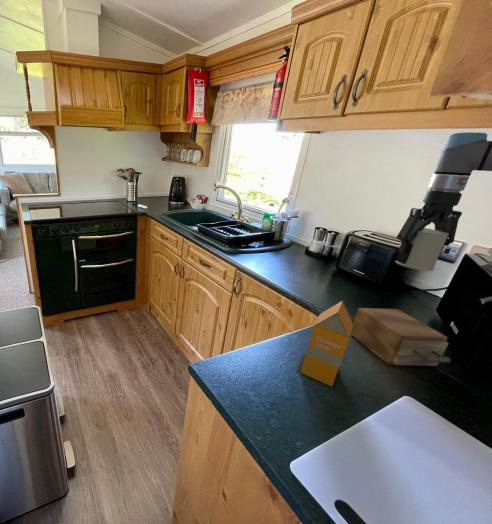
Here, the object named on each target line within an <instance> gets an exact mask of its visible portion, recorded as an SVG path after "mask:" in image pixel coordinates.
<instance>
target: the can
mask: <svg viewBox="0 0 492 524" xmlns="http://www.w3.org/2000/svg"><path fill="white" fill-rule="evenodd" d="M448 235H449V234H448V233H446V232H442V231H439V230H436V231H435V229H432V228H427V227H425V228H424V229H423V230H422V231H418V234H417V237H416V238H415V239H414V240H413V241H412V242H411V243H412V244H413V247H412V249H411V252H410V254H409V257H408V259H407V262H406V264H403V263H400V262H398V261H396V260H395V263H396V264H398V265H400V266H402V267H405V268H409V269H412V270H417V271H423V272H424V271H426V272H427V271H428V272H433V271H434V270H435V266H436V263H437V261H438V259H439V256H440V255H441V254H440V252H441V250H442V247H443V245H444V243H445V241H446V239H447V237H448ZM408 239H409V238H408ZM442 251H443V250H442ZM441 253H442V252H441ZM439 254H440V255H439Z"/></svg>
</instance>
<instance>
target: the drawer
mask: <svg viewBox="0 0 492 524" xmlns="http://www.w3.org/2000/svg"><path fill="white" fill-rule="evenodd" d="M448 345H449V342H448V341H447V340H446V341H445V340H431V339H402V341H401V343H400V346H399V348H398V350H397V353H396V355H395V357H394V359H393V362H392V363H394V364H395V365H394V366H417V367H419V366H423V367H425V366H426V367H427V366H428V367H438V365H439V364H441V363H443V364H448V363H451V358H449V357H448V356H443V355H444V353H445V352H446V350H447V348H448Z"/></svg>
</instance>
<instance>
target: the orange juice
mask: <svg viewBox="0 0 492 524" xmlns="http://www.w3.org/2000/svg"><path fill="white" fill-rule="evenodd" d="M352 329H353V322H352V320H351V317H350V314H349V312H348V310H347V308H346V306H345V304H344V302H343V300H341V301H339V302H338V303H336V304H334V305H333V306H331V307H329V308H328V309H326V310H324V311H322V312H320V313H319V315H318V317H317V319H316V321H315V322H314V324H313V327H312V332H311V333H310V338H309V342H308V345H307V347H306V351H305V354H304V359H303V361H302V365H301V368H300V371H299V373H300V374H303V375H305V376H307V377H310V378H312V379H314V380H316V381H318V382H320V383H322V384H325V385H327V386H329V387H332V388H333V385H334V382H335V379H336V377H337V374H338V371H339V369H340V366H341V363H342V361H343V357H344V354H345V352H346V351H347V346H348V344H349V342H350V339H351V336H352V335H351V332H352Z"/></svg>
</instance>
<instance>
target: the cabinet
mask: <svg viewBox="0 0 492 524" xmlns="http://www.w3.org/2000/svg"><path fill="white" fill-rule="evenodd" d="M352 323H353V329H352V332H351V336H352V337H353V338H355V339H356V340H357V341H358V342H360V343H361V344H362V345H363V346H365V347H366V348H367V349H368V350H370V352H372V353H374V354H375V355H376V356H377V357H378V358H379V359H381V360H382V361H383V362H385V364H387V365H389V366H396V365H395V364H394V363H392V362H393V359H394V357H395V355H396V353H397V350H398V348H399V346H400V343H401V341H402V339H431V340H445V341H447V339H448V336H446V335H444V334H442V333H440V332H439V331H438V330H436V329H434V328H432V327H431V326H428V325H427V324H425V323H424V322H421V321H419V320H418V319H416V318H414V317H413V316H411V315H409V314H407V313H405V312H404V311H402V310H400V309H398V308H372V307H371V308H370V307H358V309H357V311H356V314H355V317H354V319H353V322H352Z"/></svg>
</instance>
